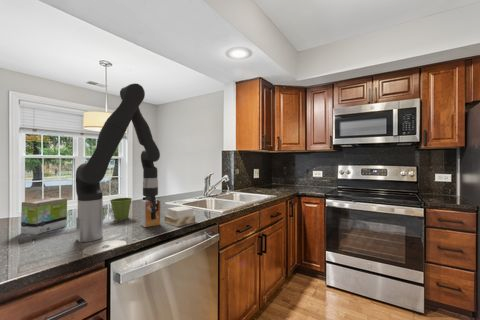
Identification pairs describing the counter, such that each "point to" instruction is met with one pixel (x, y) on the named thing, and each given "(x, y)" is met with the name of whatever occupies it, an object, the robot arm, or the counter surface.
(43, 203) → the tea box
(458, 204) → the counter surface
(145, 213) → the small box
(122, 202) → the plant pot
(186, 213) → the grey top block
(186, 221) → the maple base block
